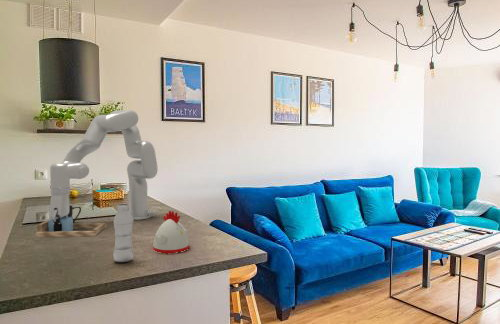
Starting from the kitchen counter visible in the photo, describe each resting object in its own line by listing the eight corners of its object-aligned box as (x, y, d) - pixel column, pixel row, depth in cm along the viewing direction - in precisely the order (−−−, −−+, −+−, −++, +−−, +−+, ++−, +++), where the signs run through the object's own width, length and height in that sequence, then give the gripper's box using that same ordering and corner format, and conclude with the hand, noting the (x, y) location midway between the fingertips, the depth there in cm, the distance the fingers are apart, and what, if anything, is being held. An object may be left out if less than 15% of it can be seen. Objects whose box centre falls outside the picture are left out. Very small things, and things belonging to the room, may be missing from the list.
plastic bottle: (116, 258, 129) (115, 203, 127) (135, 258, 129) (135, 203, 128) (110, 264, 122) (110, 206, 121) (131, 264, 123) (130, 206, 122)
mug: (80, 226, 176) (80, 207, 176) (53, 228, 172) (52, 208, 171) (81, 222, 184) (81, 204, 183) (55, 224, 179) (54, 205, 179)
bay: (105, 229, 170) (105, 217, 170) (95, 238, 154) (95, 224, 154) (52, 230, 168) (52, 217, 167) (36, 239, 152) (35, 225, 151)
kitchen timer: (171, 256, 132) (171, 216, 131) (145, 250, 139) (145, 212, 138) (196, 247, 143) (196, 210, 143) (171, 242, 151) (171, 206, 150)
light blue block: (73, 230, 164) (72, 216, 163) (67, 233, 158) (67, 219, 157) (54, 230, 163) (54, 216, 162) (48, 233, 157) (48, 219, 157)
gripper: (59, 188, 167) (60, 226, 168) (42, 194, 150) (43, 236, 151) (76, 188, 168) (76, 226, 169) (61, 194, 151) (62, 236, 152)
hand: (61, 230), depth 160 cm, fingers closed on light blue block, 6 cm apart
